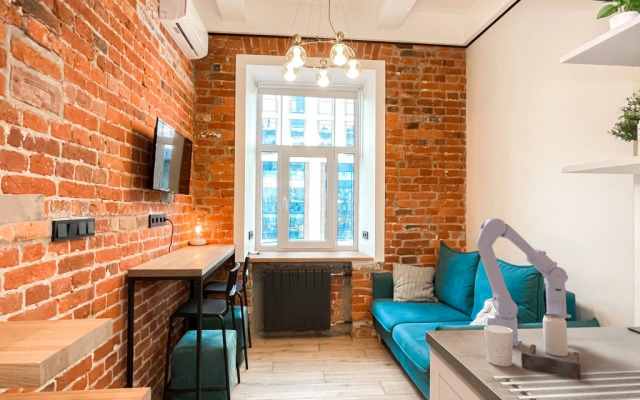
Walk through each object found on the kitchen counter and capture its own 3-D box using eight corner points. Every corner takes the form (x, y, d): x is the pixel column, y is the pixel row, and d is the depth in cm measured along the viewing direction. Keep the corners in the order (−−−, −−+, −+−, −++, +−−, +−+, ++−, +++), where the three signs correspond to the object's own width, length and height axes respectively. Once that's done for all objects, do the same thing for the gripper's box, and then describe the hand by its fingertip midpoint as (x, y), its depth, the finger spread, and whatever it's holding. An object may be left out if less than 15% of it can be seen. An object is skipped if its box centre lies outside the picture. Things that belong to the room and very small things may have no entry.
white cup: (513, 369, 103) (511, 334, 104) (483, 364, 107) (482, 330, 108) (515, 360, 110) (513, 327, 110) (487, 355, 114) (485, 324, 115)
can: (572, 357, 112) (570, 318, 113) (549, 356, 113) (547, 317, 114) (562, 350, 118) (560, 313, 119) (540, 349, 119) (539, 312, 120)
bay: (521, 367, 105) (521, 353, 105) (528, 353, 116) (528, 340, 116) (580, 379, 96) (579, 364, 96) (582, 363, 107) (581, 349, 108)
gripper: (568, 306, 116) (571, 349, 115) (571, 298, 127) (573, 337, 126) (543, 303, 120) (545, 344, 119) (547, 296, 132) (549, 333, 131)
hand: (557, 340), depth 123 cm, fingers open, 7 cm apart
